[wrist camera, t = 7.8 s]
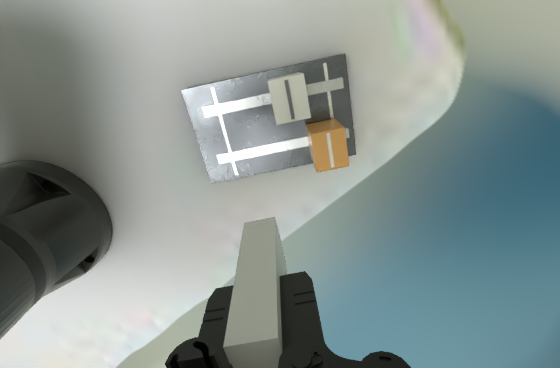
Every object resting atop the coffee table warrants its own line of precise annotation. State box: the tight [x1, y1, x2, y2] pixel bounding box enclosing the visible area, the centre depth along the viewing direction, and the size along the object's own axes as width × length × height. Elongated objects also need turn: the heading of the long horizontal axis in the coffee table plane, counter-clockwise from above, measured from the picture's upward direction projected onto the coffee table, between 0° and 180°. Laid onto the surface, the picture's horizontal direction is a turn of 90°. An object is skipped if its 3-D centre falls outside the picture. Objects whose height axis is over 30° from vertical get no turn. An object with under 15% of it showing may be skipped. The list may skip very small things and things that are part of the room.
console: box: [181, 54, 356, 183], centre depth 30 cm, size 16×10×2 cm, turn 102°
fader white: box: [267, 72, 311, 125], centre depth 26 cm, size 3×4×4 cm
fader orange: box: [306, 119, 349, 172], centre depth 28 cm, size 3×4×4 cm
